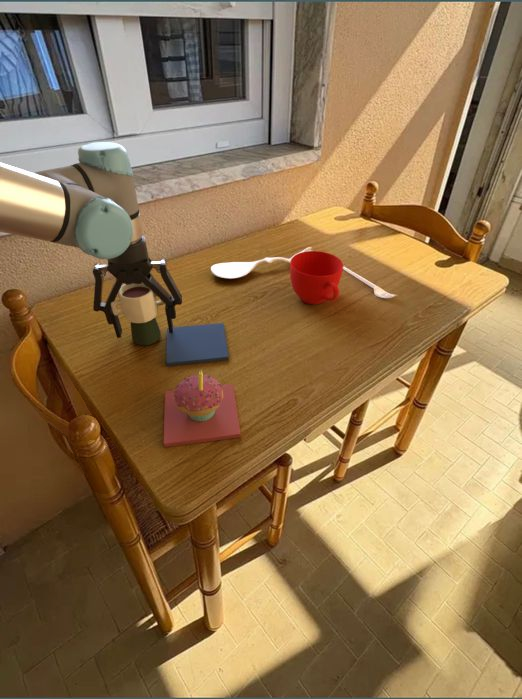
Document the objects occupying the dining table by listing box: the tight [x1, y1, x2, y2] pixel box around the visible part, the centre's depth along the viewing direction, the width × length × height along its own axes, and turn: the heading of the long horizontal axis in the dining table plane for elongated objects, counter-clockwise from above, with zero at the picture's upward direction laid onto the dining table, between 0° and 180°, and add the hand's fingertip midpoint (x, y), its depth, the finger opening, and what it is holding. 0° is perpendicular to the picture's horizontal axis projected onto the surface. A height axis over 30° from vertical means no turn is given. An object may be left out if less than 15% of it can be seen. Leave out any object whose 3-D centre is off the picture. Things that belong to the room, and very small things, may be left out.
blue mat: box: [165, 322, 230, 367], centre depth 84 cm, size 13×12×1 cm
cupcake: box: [173, 369, 223, 421], centre depth 65 cm, size 9×8×12 cm
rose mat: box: [163, 383, 242, 448], centre depth 69 cm, size 13×12×1 cm
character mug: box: [111, 282, 165, 346], centre depth 82 cm, size 11×7×13 cm, turn 115°
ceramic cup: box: [289, 250, 344, 305], centre depth 95 cm, size 13×17×10 cm
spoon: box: [210, 246, 314, 280], centre depth 109 cm, size 9×32×4 cm, turn 108°
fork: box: [343, 266, 397, 299], centre depth 104 cm, size 3×20×2 cm, turn 32°
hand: (145, 331), depth 85 cm, fingers closed on character mug, 10 cm apart
